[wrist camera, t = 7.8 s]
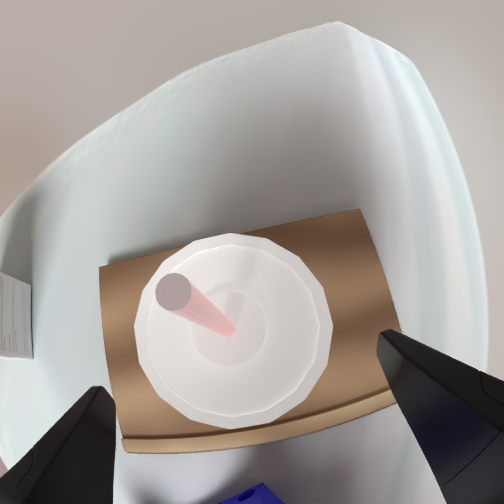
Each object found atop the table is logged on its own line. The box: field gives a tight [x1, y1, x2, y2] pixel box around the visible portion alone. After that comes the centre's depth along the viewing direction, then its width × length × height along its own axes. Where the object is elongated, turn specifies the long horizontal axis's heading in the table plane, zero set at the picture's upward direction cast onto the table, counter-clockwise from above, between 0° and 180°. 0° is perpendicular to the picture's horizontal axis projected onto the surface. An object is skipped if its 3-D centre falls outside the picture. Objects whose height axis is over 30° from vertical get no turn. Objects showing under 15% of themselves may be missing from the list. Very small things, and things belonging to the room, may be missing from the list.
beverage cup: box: [134, 233, 333, 429], centre depth 10 cm, size 6×6×14 cm
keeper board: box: [99, 209, 401, 454], centre depth 17 cm, size 14×20×2 cm
